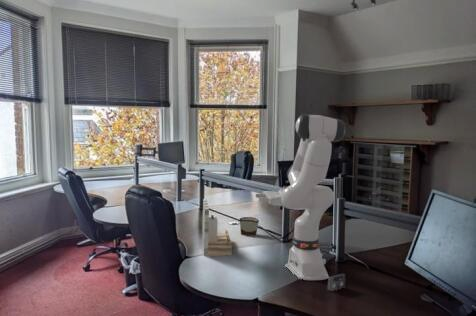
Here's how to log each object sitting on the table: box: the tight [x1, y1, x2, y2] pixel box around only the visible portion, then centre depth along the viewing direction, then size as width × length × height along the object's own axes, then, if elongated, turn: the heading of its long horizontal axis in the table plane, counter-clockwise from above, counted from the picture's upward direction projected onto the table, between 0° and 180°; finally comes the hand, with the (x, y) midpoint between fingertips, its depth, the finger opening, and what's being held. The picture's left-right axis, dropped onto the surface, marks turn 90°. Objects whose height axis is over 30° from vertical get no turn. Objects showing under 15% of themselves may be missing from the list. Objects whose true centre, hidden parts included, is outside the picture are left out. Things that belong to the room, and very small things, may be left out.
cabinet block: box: [208, 214, 218, 242], centre depth 197 cm, size 5×5×14 cm
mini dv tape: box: [326, 273, 347, 292], centre depth 152 cm, size 8×2×6 cm, turn 118°
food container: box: [238, 216, 260, 237], centre depth 224 cm, size 12×6×10 cm, turn 74°
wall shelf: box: [202, 198, 233, 257], centre depth 197 cm, size 24×14×24 cm, turn 7°
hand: (257, 197), depth 196 cm, fingers open, 8 cm apart
